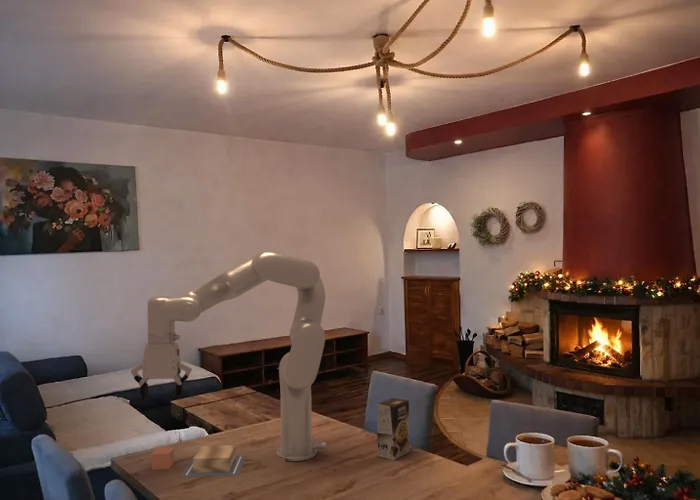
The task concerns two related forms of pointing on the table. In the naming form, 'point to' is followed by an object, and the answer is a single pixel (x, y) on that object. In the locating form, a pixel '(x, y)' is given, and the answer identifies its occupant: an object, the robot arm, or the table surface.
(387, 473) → the table surface
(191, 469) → the board
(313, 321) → the robot arm
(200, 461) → the maple base block
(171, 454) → the terracotta block
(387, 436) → the snack box
